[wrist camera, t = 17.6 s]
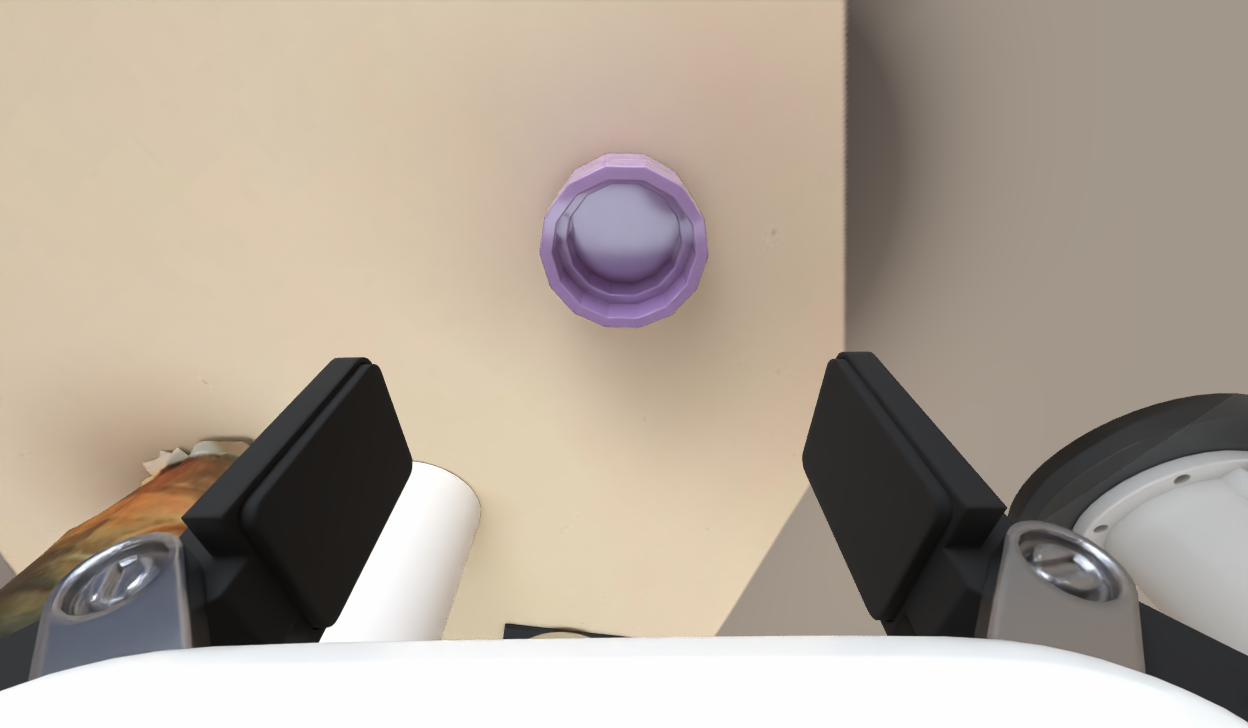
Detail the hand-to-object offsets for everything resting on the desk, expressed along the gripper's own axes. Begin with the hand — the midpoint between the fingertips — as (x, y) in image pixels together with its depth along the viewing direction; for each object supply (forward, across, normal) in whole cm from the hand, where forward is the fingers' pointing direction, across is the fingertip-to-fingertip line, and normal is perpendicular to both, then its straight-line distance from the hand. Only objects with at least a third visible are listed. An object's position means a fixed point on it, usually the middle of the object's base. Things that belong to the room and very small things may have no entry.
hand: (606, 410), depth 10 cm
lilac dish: (+14, 0, 0) cm, 14 cm away
